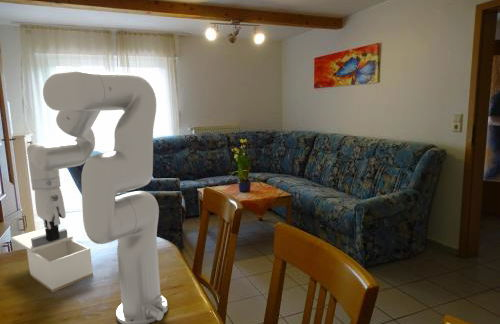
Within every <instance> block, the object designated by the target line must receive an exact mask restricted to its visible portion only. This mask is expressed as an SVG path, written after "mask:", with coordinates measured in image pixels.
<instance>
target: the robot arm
mask: <svg viewBox="0 0 500 324" xmlns="http://www.w3.org/2000/svg"><path fill="white" fill-rule="evenodd" d="M42 96H43V101H44V103H45V105H46V106H47V107H49V109H51V110H52V111H53V110H54V111H57V112H58V113H57V115H56V118H55V120H56V121H55V122H56V125H57V126H58V128H59V129H60V130H61V131H62V132H63V133H65V134H67V135H68V136H71V137H74V138H75V140H74V141H68V142H67V141H65V142H59V143H52V142H35V143H31V144H29V145H28V146H27V148H26V152H27V160H28V169H29V176H30V183H31V190H32V191H34V201H35V211H36V216H38V217H39V218H41V219H42V221H43V226H44V227H43V228H46V229H45V232H46V239H47V241H49V242H51V241H54V240H57V239H59V230H60V229H59V225H61V220H60V218H61V219H65V218H66V216H67V215H66V209H65V203H64V199H63V194H62V190H61V188H60V187H61V186H62V185H61V180H60V179H61V177H60V170H62V169H68V168H73V167H78V166H79V167H80V166H82V165H83V167H82V171H81V198H82V199H81V204H82V222H83V227H84V230H85V233H86V236H87V238H89V240H90V241H91V242H92V243H95V244H97V245H105V244H108V243H112V242H115V241H116V240H117V248H116V249H117V251H116V253H117V256H116V257H117V265H118V276H119V277H118V278H119V287H120V296H121V297H120V299H121V304H120V305H119V306H118V307H117V308H116V312H115V315H116V319H117V321H118V322H119V323H120V324H150V323H153V322H155V321H161V320H163V318H164V315H165V313H167V311H168V309H169V308H168V301H167V299H166V298H165V297H164V296H163V295H162V294H161V282H160V272H159V271H160V269H159V267H160V266H159V257H158V256H159V255H158V241H157V240H158V238H157V237H158V236H157V235H158V233H157V232H158V224H159V214H160V209H159V203H158V201H157V199H156V197H155V196H154V195H153V194H152V193H150V192H148V191H146V190H145V191H144V190H137V189H140V188H143V187H145V186H148V184H149V183H150V182H151V180H152V178H153V173H154V171H153V170H154V168H153V167H154V166H153V165H154V156H153V155H154V125H155V119H156V114H157V97H156V93H155V91H154V89H153V87H152V85H151V84H150V83H149V81H147V80H146V79H145V78H143V77H141V76H138V75H136V74H131V73H123V72H114V71H113V72H109V71H94V70H93V71H92V70H74V71H68V72H67V71H66V72H59V73H54V74H52V75H50V76H49V77H48V78H47V79H46V80H45V82H44V84H43V88H42ZM119 110H120V111H123V113H122V115H121V116H120V117H119V119H118V122H117V123H116V126H115V129H114V146H113V147H114V148H113V150H112V151H108V152H102V153H98V154H94V155H92V154H93V152H94V150H95V147H96V146H95V145H96V137H95V133H94V132H93V131H94V130H92V126H94V123H95V121H96V119H97V118H98V117H99V115H100V113H101V112H102V111H103V112H105V111H119ZM91 155H92V156H91ZM134 190H136V191H134ZM125 192H127V193H125ZM122 193H123V194H122ZM119 238H120V239H119ZM118 239H119V242H118Z"/></svg>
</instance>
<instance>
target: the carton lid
mask: <svg viewBox="0 0 500 324" xmlns="http://www.w3.org/2000/svg"><path fill="white" fill-rule="evenodd" d="M45 229H46V228H45V227H43V228H40V229H36V230H33V231H30V232H25V233H22V234H19V235H15V236H11V241H14V243H16V244H18V245H20V246H21V247H23V248H24V249H26V250H27V249H28V250H29V251H31V252H33V251H36V250H39V249H42V248H45V247H48V246H51V245H54V244H58V243H61V242H64V241H67V240H70V239H72V240H74V238H73V236H72V235H71V234H69V233H68V230H67V229H66V228H63V229H59V239H57V240H54V241H51V242H49V241H47V239H46V232H45Z"/></svg>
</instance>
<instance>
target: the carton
mask: <svg viewBox="0 0 500 324" xmlns="http://www.w3.org/2000/svg"><path fill="white" fill-rule="evenodd" d="M26 253H27V261H28V262H27V263H28V267H29V273H30V274H29V275H30V277H31V278H33V279H34V280H36V281H37V282H38V283H39V284H41V285H42V286H43V287H45V288H46V289H47V290H49V291H50V292H51V293H54V292H57V291H59V290H62V289H64V288H66V287H68V286H70V285H73V284H75V283H78V282H81V281H82V280H85V279H88V278H90V277H92V276H94V273H93V271H94V270H93V263H92V252H91V248H90V247H89V246H87V245H84V244H82V243H80V242H78V241H76V240H74V239H70V240H67V241H64V242H61V243H58V244H54V245H51V246H48V247H45V248H42V249H39V250H36V251H33V252H31V251H29V250H28V249H26Z"/></svg>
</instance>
